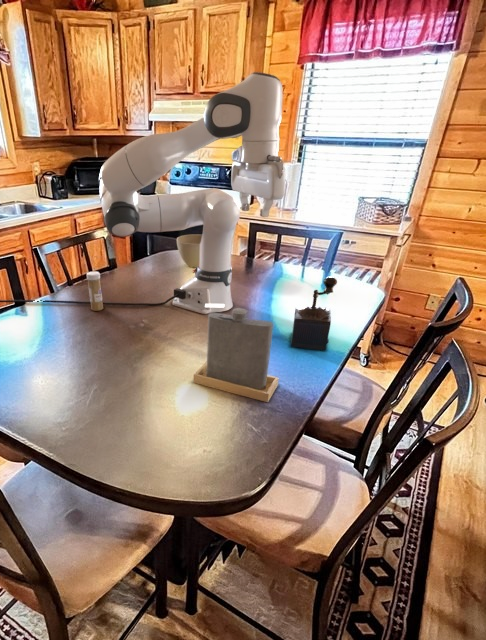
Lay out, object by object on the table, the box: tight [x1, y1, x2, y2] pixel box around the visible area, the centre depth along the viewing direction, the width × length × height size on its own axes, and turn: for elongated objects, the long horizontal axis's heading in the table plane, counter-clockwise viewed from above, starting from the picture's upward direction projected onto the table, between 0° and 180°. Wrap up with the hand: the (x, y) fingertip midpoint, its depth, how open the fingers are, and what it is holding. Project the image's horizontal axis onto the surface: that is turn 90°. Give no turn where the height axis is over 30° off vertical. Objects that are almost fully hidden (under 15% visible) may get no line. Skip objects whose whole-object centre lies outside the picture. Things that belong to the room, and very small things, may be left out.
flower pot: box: [176, 233, 202, 268], centre depth 194 cm, size 18×18×12 cm
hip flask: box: [206, 307, 274, 390], centre depth 102 cm, size 16×4×20 cm, turn 65°
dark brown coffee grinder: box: [290, 276, 338, 351], centre depth 125 cm, size 16×11×18 cm
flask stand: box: [193, 360, 280, 403], centre depth 107 cm, size 20×9×2 cm, turn 62°
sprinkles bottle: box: [86, 270, 104, 312], centre depth 149 cm, size 5×5×14 cm
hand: (254, 213), depth 110 cm, fingers open, 8 cm apart
